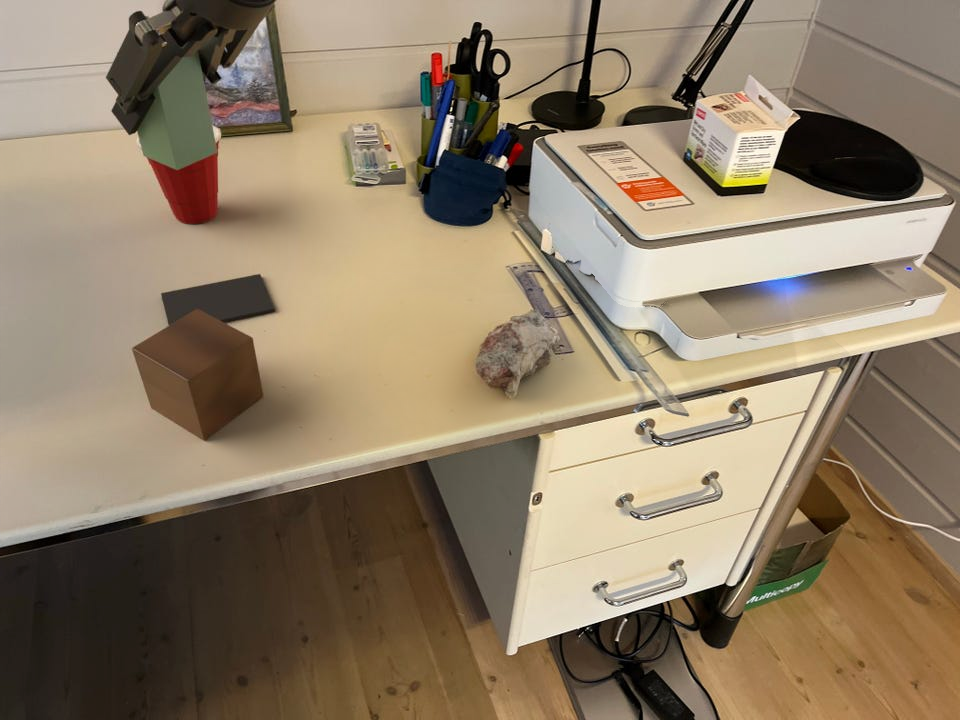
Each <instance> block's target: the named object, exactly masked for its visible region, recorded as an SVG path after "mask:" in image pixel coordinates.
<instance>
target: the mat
mask: <svg viewBox="0 0 960 720" xmlns="http://www.w3.org/2000/svg"><path fill="white" fill-rule="evenodd" d="M160 295H161V300H162V303H163V308H164V312H165V316H166V319H167V320H166V321H167V324H168V325H167V326H169V325H171V324H173V323H174V322H176V321H178V320H179V319H181V318H183V317H184V316H186V315H188V314H189V313H191V312H193V311H194V310H196V309H199V310H201V311H203V312H204V313H206V314H208V315H210V316H212V317H214V318H216V319H218V320H220V321H222V322H224V323H229V322H233V321H238V320H243V319H248V318H253V317H257V316H261V315H267V314H271V313H276V309H275V306H274V304H273V301H272V299H271V296H270V294H269V292H268V289H267V287H266V284H265V282H264V279H263V277H262V275H261V273H257V274H252V275H246V276H242V277H237V278H232V279H231V278H230V279H227V280H221V281H216V282H211V283H206V284H200V285H196V286H191V287H185V288H181V289H175V290H171V291H165V292H161V293H160Z"/></svg>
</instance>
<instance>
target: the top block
mask: <svg viewBox="0 0 960 720" xmlns="http://www.w3.org/2000/svg"><path fill="white" fill-rule="evenodd" d="M117 53H118V51H117V52H116V54H117ZM205 85H206V84H205V82H204V80H203V75H202V69H201V64H200V59H199V54H198V51H196V52H195V54H194V55H192V56H188V57H183V58H182V59H181V60H180V61H179V63H178V64H177V65H176V66H175V67H174V68H173V70H172V71H171V72H170V73H169V74H168V75H167V77H166V78H165V79H164V80H163V81H162V82H161V84H160V85H159V86H158V87H157V88H156V89H155V91H154V92H153V93H152V94H153V95H154V96H155V100H154V102H153V104H152V105H151V107H150V109H149V110H148V112H147V114H146V116H145V117H144V119H143V121H142V123H141V124H140V126H139V128H138V129H137V131H136V133H137V137H138V136H139V140H140V144H141V148H142V150H141V151H142V155H143V157H145V158H146V159H147V158H150V159H152V160H155V161H157V162H159V163H162V164H164V165H166V166H169V167H171V168H173V169H176V170H179V169H181V168H184V167H186V166H188V165H190V164H193V163H195V162H197V161H200V160H202V159H204V158H207V157H209V156H211V155H213V154H216V153H217V148H216V142H215V137H214V132H213V127H212V125H213V122H212V121H213V120H212V117H211V111H210V106H209V101H208V97H207V91H206V86H205Z"/></svg>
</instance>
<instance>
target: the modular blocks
mask: <svg viewBox="0 0 960 720" xmlns="http://www.w3.org/2000/svg"><path fill="white" fill-rule="evenodd" d="M540 251H543V252H544V253H546V254H548V255H553V254H554V258H555V259H557V260H558V261H561V263H567V262H566V261H565V260H564V259H563V257H562V256H561V255H560V254H559V253H558V252H556V248H555V247H554V248H552V236H551V233H550V232H549V231H548V230H547V229H546V228H544V229H542V236H541V245H540Z"/></svg>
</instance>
